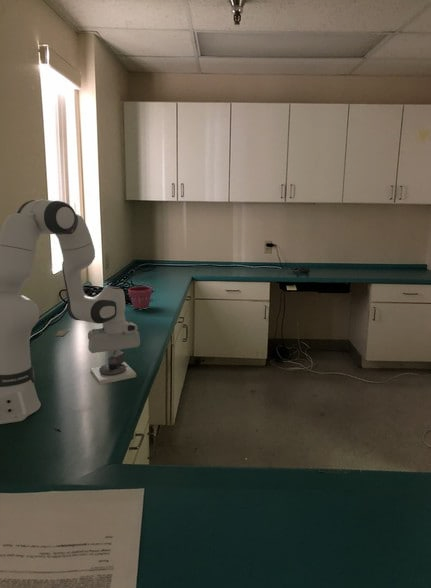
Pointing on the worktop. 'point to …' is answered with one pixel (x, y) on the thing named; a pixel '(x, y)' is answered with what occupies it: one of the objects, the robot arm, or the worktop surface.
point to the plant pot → (140, 296)
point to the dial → (114, 365)
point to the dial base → (112, 378)
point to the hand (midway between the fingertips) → (115, 360)
